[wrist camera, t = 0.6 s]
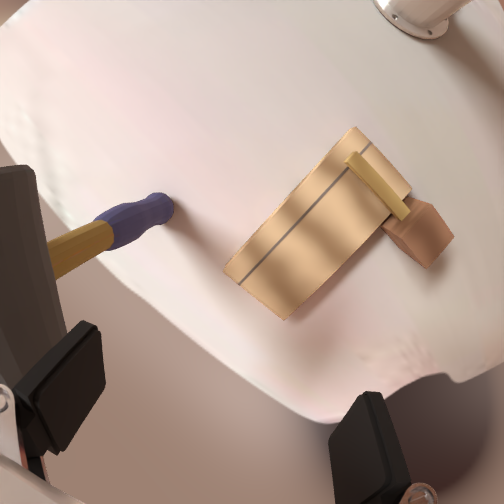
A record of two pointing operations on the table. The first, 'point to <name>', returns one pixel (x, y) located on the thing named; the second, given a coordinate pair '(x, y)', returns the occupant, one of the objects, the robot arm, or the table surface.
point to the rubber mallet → (50, 264)
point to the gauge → (405, 216)
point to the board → (314, 228)
